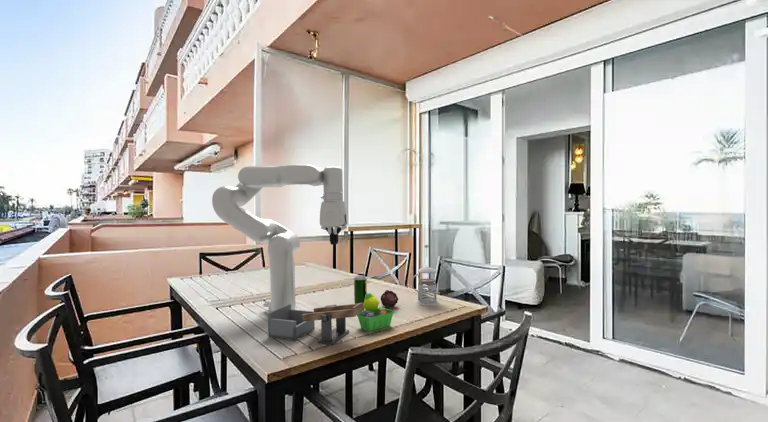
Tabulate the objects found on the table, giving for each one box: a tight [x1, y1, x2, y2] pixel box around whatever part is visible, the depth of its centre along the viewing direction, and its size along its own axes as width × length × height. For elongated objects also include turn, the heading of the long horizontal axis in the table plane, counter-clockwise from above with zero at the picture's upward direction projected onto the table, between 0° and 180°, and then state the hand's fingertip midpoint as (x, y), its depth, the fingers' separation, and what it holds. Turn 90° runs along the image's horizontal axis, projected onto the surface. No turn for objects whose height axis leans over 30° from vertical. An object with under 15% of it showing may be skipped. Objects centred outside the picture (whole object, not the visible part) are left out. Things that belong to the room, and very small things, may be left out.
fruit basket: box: [356, 292, 395, 332], centre depth 129 cm, size 11×9×11 cm
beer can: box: [353, 274, 368, 304], centre depth 158 cm, size 5×5×12 cm
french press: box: [411, 244, 440, 307], centre depth 159 cm, size 10×12×25 cm
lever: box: [302, 303, 365, 322], centre depth 122 cm, size 18×16×2 cm
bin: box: [267, 304, 316, 342], centre depth 123 cm, size 10×12×8 cm
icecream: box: [380, 289, 399, 309], centre depth 154 cm, size 7×7×15 cm
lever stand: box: [317, 315, 350, 346], centre depth 118 cm, size 5×13×8 cm, turn 161°
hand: (334, 244), depth 147 cm, fingers closed
